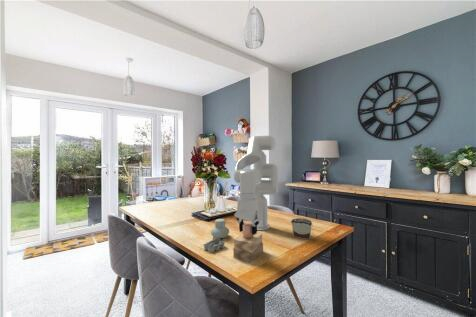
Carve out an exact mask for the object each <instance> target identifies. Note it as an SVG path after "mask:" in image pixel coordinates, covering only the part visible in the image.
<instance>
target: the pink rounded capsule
mask: <svg viewBox="0 0 476 317" xmlns="http://www.w3.org/2000/svg"><path fill="white" fill-rule="evenodd" d="M252 226H253V224H252V223H249V222H246V223H245V222H244V224H243V231H242V234H243V238H246V239H250V238H253V235H252Z"/></svg>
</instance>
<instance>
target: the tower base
mask: <svg viewBox="0 0 476 317" xmlns="http://www.w3.org/2000/svg"><path fill="white" fill-rule="evenodd" d="M263 253H264V243H263V242H262V244H261V245H259V246H258V247H257V248H256V249H255V250H254V251H253V252H252V253H250V252H245V251H240V250H236V249H234V248H233V258H236V259H238V260H241V261H244V262H249V263H250V262H252V261H253V260H254V259H255V258H257V257H258V256H260V255H261V254H263Z"/></svg>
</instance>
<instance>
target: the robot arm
mask: <svg viewBox="0 0 476 317" xmlns="http://www.w3.org/2000/svg"><path fill="white" fill-rule="evenodd" d="M247 142H248V143H247V144H248V145H247V150H246V154H244V156H242V157H241V158H239V160H238V161H237V162H236V165H235V168H234V172H233V180H234V182H235V183H237V184H239V192H238V194H237V195H238V196H239V198H238V199H237V205H236V212H235V213H234V214H233V215H234V217H235V219H236V221H237V223H238V225H239V226H238V228H239V233H241V232H242V233H243V224H244V223H245V222H244V221H248V223H252V224H253V226H252V235H254V234H256V233H258V231H267V230H269V229H270V228H271V227H270V226H271V225H270V224H269V223H268V222H269V221H268V219H269V218H268V216H269V215H268V199H267V198H266V197H265V195H267V196H271V195H272V196H275V195H277V194H278V192H279V171H278V169H279V168H278V166H277V165H276V164H275V163H267V155H266V153H265V152H264V151H273V150H274V149H275V148H276V139H275V138H274V136H271V135H255V136H254V135H253V136H252V137H250V138H249V139H248V141H247ZM251 165H253V168H246V167H249V166H251Z"/></svg>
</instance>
